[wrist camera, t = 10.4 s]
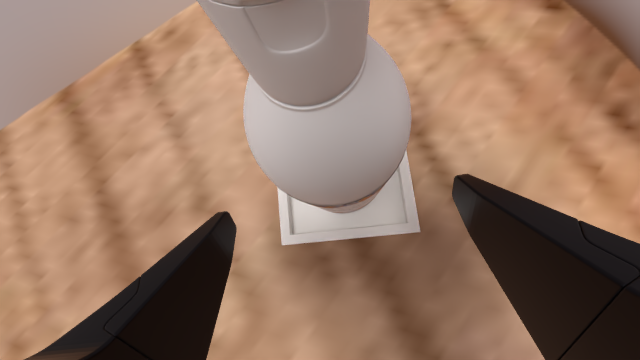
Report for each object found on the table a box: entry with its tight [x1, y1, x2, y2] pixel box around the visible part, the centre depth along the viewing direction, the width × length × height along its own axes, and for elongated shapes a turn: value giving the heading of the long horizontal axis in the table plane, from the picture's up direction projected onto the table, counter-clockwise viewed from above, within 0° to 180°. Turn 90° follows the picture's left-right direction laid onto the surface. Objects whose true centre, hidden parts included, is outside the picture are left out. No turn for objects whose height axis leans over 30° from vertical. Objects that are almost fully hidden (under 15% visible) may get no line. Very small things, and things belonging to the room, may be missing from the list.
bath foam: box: [197, 0, 411, 214], centre depth 12 cm, size 7×7×20 cm
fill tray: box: [278, 151, 420, 245], centre depth 22 cm, size 12×12×2 cm
